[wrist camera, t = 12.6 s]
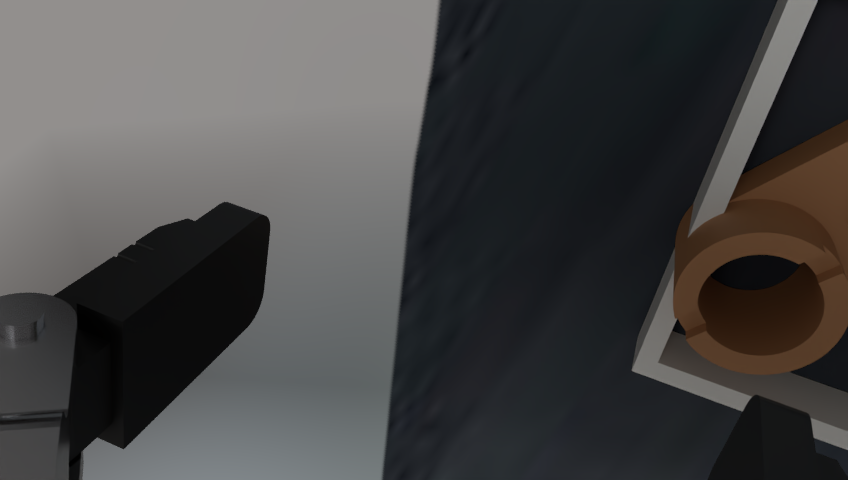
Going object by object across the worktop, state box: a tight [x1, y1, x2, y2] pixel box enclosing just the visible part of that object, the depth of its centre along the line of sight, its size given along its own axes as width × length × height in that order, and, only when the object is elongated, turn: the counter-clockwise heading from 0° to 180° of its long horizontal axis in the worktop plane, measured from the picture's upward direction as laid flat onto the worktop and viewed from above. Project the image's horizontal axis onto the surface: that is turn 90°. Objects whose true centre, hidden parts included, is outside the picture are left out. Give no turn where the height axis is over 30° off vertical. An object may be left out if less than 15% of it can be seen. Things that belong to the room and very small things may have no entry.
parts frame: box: [632, 0, 848, 450], centre depth 41 cm, size 14×24×4 cm, turn 169°
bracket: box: [673, 120, 848, 375], centre depth 40 cm, size 18×8×7 cm, turn 129°
